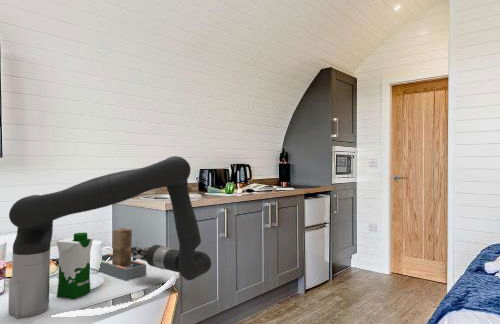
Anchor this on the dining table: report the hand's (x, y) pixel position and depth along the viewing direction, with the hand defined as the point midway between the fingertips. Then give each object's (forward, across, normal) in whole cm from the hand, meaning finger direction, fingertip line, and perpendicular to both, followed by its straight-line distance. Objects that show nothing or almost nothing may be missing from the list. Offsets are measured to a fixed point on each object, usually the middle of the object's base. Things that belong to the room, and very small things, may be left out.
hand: (132, 249), depth 134 cm
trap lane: (+11, 0, +10) cm, 15 cm away
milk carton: (-1, +23, +10) cm, 25 cm away
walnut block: (+7, 0, +7) cm, 10 cm away
